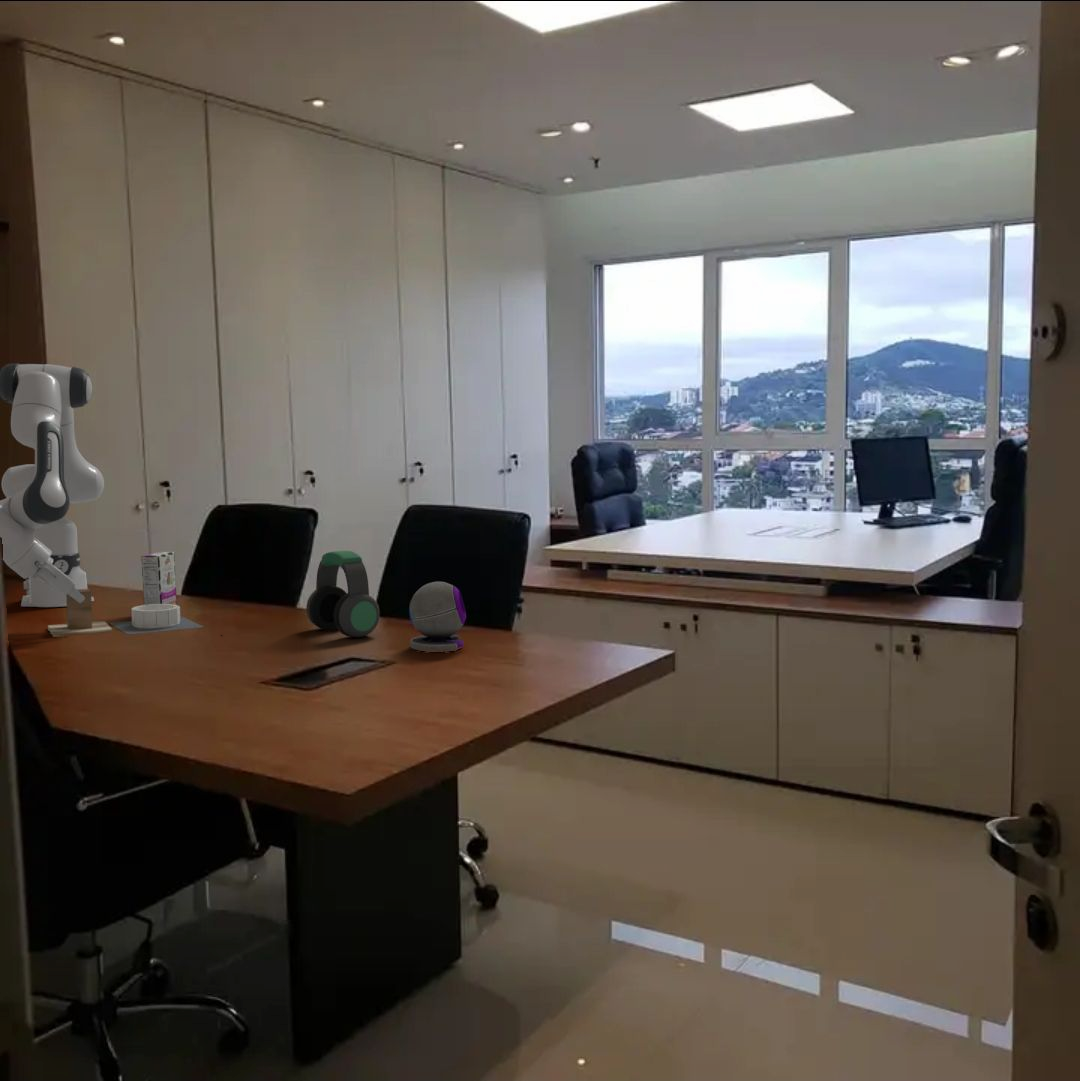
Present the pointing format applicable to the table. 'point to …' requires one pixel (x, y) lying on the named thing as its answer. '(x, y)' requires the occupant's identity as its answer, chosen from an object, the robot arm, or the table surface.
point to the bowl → (155, 616)
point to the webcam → (437, 617)
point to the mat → (129, 629)
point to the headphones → (343, 597)
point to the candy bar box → (159, 578)
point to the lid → (79, 618)
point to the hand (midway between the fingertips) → (78, 597)
